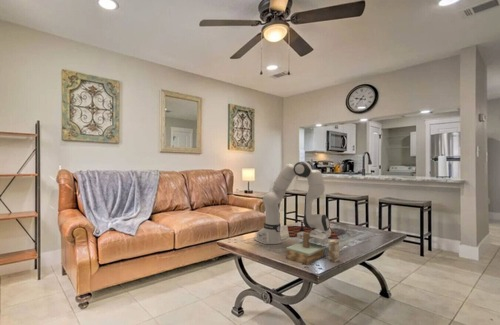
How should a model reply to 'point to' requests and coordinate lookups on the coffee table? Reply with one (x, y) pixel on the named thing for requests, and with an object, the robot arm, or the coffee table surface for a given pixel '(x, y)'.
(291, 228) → the chessboard
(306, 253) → the lid
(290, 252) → the open wooden box
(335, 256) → the tan wooden block
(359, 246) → the coffee table surface
